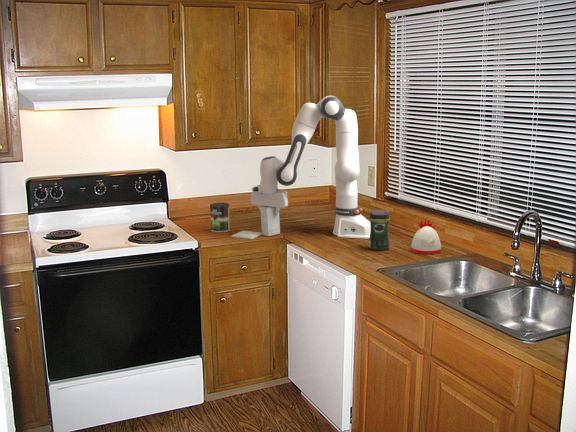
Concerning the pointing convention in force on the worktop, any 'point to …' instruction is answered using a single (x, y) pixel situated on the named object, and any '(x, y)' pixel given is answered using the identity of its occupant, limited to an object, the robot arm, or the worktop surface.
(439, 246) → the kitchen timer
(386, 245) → the coffee jar
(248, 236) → the plate
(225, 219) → the coffee can
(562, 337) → the worktop surface
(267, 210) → the skincare box
